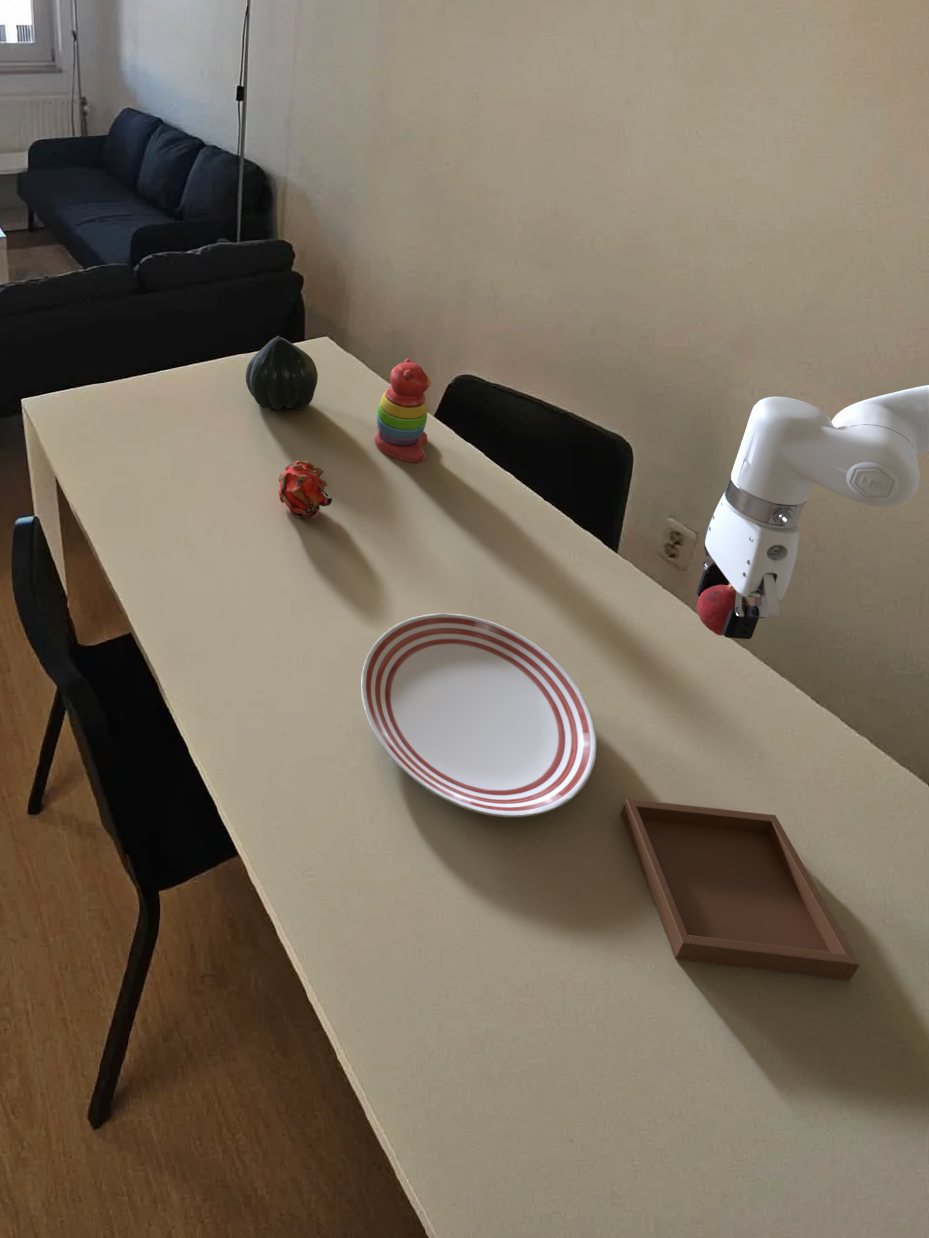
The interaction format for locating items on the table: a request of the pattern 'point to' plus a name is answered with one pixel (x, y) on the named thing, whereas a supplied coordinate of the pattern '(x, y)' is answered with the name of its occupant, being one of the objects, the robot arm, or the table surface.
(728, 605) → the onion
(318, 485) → the dragon fruit
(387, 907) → the table surface
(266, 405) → the squash
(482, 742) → the dinner plate
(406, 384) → the stacking bear
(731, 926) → the tray
